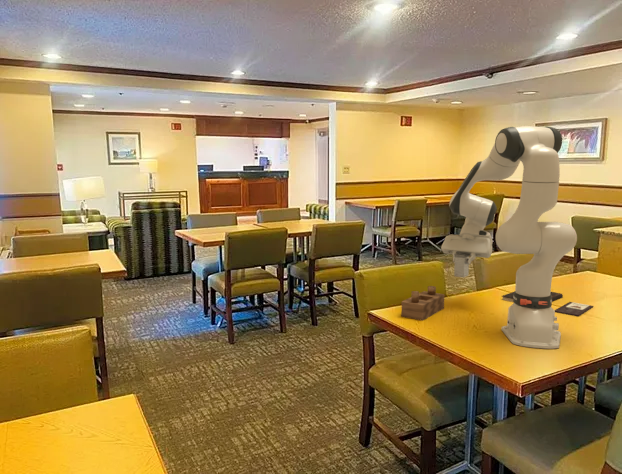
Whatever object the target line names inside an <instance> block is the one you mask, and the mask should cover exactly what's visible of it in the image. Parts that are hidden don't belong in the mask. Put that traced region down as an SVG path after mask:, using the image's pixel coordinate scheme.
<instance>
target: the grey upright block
mask: <svg viewBox="0 0 622 474" xmlns="http://www.w3.org/2000/svg"><path fill="white" fill-rule="evenodd" d="M469 258H470V256H469V254H467V253H457V254H455V263H454V269H453V271H454V274H453V276H454V277H455V278H456V277H458V278H466V277H468V276H469V272H470V271H469V270H470V269H469V268H470V266H469V265H470V264H466V259H469Z"/></svg>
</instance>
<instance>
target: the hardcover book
mask: <svg viewBox="0 0 622 474" xmlns="http://www.w3.org/2000/svg"><path fill="white" fill-rule="evenodd" d="M550 294H551V295H552V303H553V302H556V301H558V300H560V299H563V298H564V295H563V293H559V292H554V291H551V292H550ZM513 295H514V291H512V292H509V293H506V294H503V295H501V297H502V300H503V301H507V302H510V303H514V301H513Z"/></svg>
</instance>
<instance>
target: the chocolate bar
mask: <svg viewBox="0 0 622 474" xmlns="http://www.w3.org/2000/svg"><path fill="white" fill-rule="evenodd" d="M593 308H594V305H590V304H585V303H584V304H583V303H580V302H579V303H578V302H574V301H569V302H567V303H565V304H564V305H561V306H560V307H558V308H555V309H554V310H555V314H556V313H558V314H563V315H568V316H573V317H578V318H579V317H580V316H582V315H585V313H587V312H589V311H590V310H591V309H593Z"/></svg>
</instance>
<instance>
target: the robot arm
mask: <svg viewBox="0 0 622 474" xmlns="http://www.w3.org/2000/svg"><path fill="white" fill-rule="evenodd" d="M562 145H563V136H562V134H561V132H560V130H559V129H557V128H556V127H553V126H552V127H551V126H534V125H521V126H508V127H505V128H503V129H500V130H499V132H498V133H497V135H496V136H495V140H494V144H493V146H492V148H491V150H490V152H489V154H488V156H487V157H486V158H485V159H483V160H481V161H477V162H476V163H475V164H474V165H473V167H472V168H471V170H470V171H469V173H467V175H466V176H465V178H464V180H463V182H461V184H460V186H459V187H458V189H457V190H456V192H455V193H454V194H453V195H452V197H451V198H450V200H449V203H448V204H449V205H448V207H449V208H448V209H450V211H451V212H452V214H453V215H457V216H461V217H462V216H463V217H465V220H464V224H462V227H461V229H460V232H459V234H453V233H452V234H449V235H446V236H445V238H444V241H443V243H442V244H441V247H440V249H441V251H442V253H443V254H446V255H452V256H453V258H452V263H454V264H455V254H457V253H467V254H469V259H466V264H469V265H471V263H472V262H473V261H474V260H475V259H476V258H483V259H484V258H485V259H489V258H490V257H491V256H492V253H493V238H492V235H491V233H490V232H488V231H486V230H484V229H485V228H486V227H487V226H489V225H491V224H492V223H493V222H494V218H495V214H496V213H497V210H498V208H497V205H496V203H495V202H494V201H493V200H491V199H488V198H485V197H481V196H478V195H475V194H472V193H470V191H471V189H472V188H473V187H474V186H475V184H476V183H478V182H481V181H503V180H505V179H508V178H510V177H511V176H513V175H514V173H515V171H516V170H517V168H518V167H519V165H520V162H521V163H522V167H523V171H522V172H523V173H522V180H521V190H520V197H519V198H520V199H519V202H518V205H517V208H516V210H515V211H514V213H513V214H512V216H511V217H510V218H509V219H508V220H507V221H506V222H504V223H502V224H501V225H500V226H499V227H498V228H497V230H496V233H495V243H496V245H497V247H498V248H499V250H501V251H502V252H503V253H510V254H515V255H533V257H532V258H531V260H529V261H528V262H527V263H524V264H522V265H521V266H520V267H518V268H517V270H516V273H515V288H514V291H513V292H514V295H513V301H514V302H512V304H511V305H510V306H508V311H507V324H506V325H503V326H501V331H502V332H503V334H504V335H505V336H506V338H507V339H508V340H509V341H510V342H511V344H512V345H517V346H521V347H525V348H534V349H546V350H547V349H551V350H553V349H559V348H560V343H561V336H562V333H561V332H562V331H560V330H559V326H560V325H559V322H556V321H558V317H557V316H556V312H555V310H556V309H554V308H552V303H553V302H552V295H551V294H550V292H552V291H551V290H552V289H551V288H552V281H553V275H554V270H555V268H556V267H557V264H558V263H559V262H560V260H562V258H564V256H565V255H566V254H568V253H569V252H572V250H573V249H574V248H575V246H576V245H577V242H578V235H577V232H576V230H575V228H574V227H573V226H572V225H571V224H570V223H564V222H559V221H539V219H540V217H541V216H543V214H545V213H546V212H548V211H551V210H552V209H554V207H556V205H557V203H558V199H559V197H558V196H559V189H560V188H559V187H560V186H559V184H560V175H561V174H560V169H561V168H560V157H559V152H560V150H561V148H562Z"/></svg>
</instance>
